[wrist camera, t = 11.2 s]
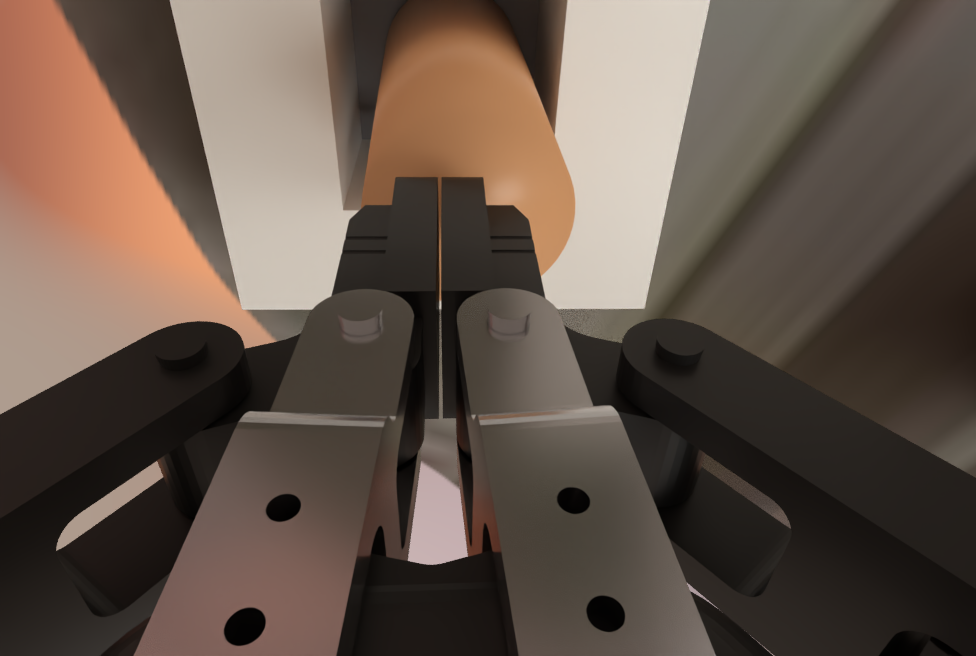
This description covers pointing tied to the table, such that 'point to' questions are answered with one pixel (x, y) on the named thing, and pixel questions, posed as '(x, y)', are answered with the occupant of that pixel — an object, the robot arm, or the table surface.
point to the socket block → (350, 116)
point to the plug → (468, 117)
